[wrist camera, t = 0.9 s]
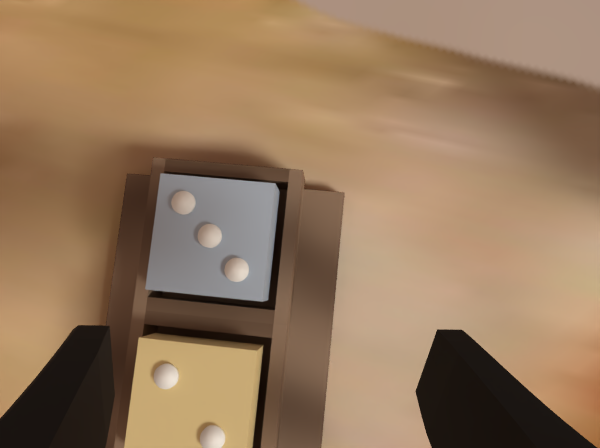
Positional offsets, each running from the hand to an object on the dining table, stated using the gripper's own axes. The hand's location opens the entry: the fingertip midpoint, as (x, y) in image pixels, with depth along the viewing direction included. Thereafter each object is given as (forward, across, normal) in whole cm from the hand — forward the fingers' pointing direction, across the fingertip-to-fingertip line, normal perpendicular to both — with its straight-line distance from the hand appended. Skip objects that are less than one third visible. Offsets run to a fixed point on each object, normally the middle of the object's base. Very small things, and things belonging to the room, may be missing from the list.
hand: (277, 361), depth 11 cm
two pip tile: (+8, +2, +10) cm, 13 cm away
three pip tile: (+12, +1, +4) cm, 13 cm away
